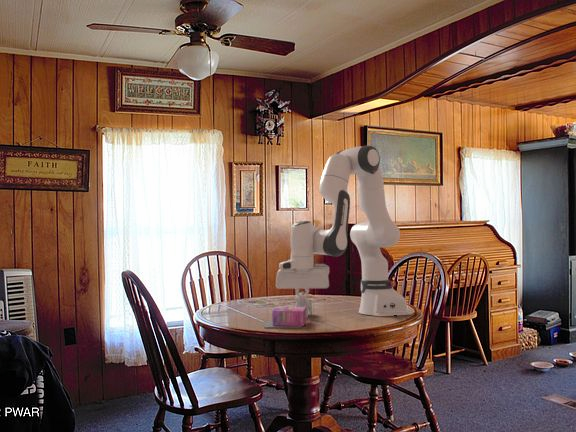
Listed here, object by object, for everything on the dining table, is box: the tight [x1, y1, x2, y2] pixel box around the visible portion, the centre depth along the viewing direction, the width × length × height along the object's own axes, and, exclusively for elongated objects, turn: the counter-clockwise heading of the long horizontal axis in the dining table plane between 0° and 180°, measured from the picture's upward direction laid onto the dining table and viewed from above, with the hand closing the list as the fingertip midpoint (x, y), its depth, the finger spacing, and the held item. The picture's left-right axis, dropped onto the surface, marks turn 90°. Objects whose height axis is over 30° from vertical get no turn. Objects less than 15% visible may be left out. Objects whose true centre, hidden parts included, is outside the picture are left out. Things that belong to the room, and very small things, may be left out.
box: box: [271, 305, 308, 327], centre depth 197 cm, size 10×6×12 cm
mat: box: [264, 320, 303, 329], centre depth 196 cm, size 14×12×1 cm
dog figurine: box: [294, 291, 313, 319], centre depth 214 cm, size 5×13×11 cm, turn 162°
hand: (302, 300), depth 195 cm, fingers closed
